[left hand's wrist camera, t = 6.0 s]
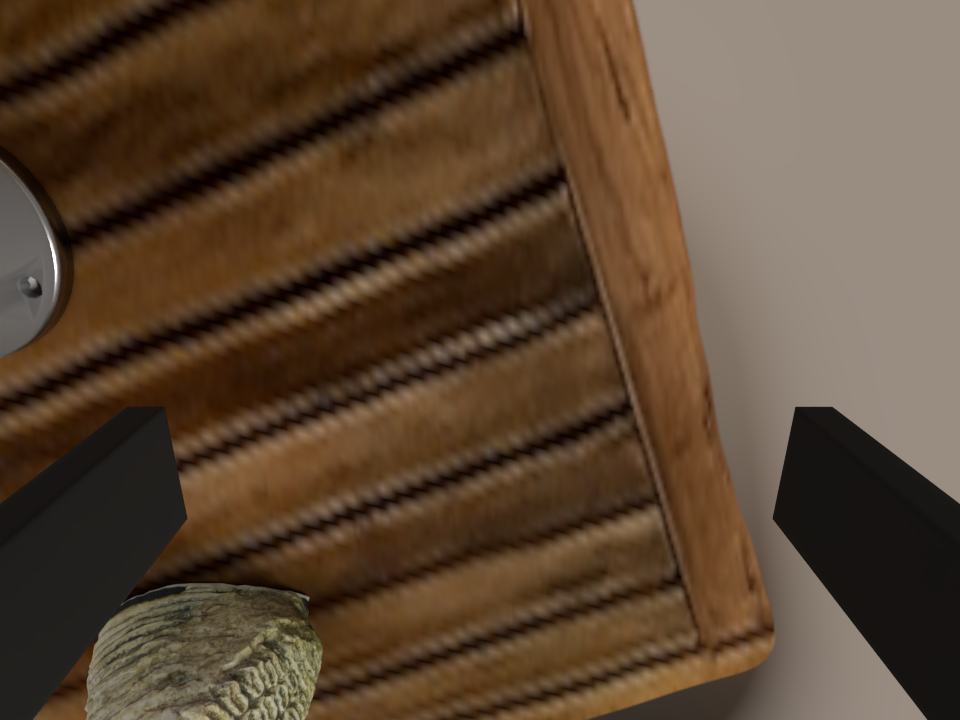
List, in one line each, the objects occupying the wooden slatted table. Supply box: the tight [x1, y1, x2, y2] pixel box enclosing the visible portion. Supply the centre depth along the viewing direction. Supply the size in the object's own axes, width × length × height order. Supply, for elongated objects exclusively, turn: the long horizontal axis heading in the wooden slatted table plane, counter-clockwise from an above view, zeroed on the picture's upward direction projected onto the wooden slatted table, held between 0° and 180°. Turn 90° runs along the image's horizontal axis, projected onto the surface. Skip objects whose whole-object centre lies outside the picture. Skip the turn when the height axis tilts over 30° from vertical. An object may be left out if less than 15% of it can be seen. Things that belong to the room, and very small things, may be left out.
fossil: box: [84, 583, 323, 720], centre depth 42 cm, size 9×18×15 cm, turn 105°
